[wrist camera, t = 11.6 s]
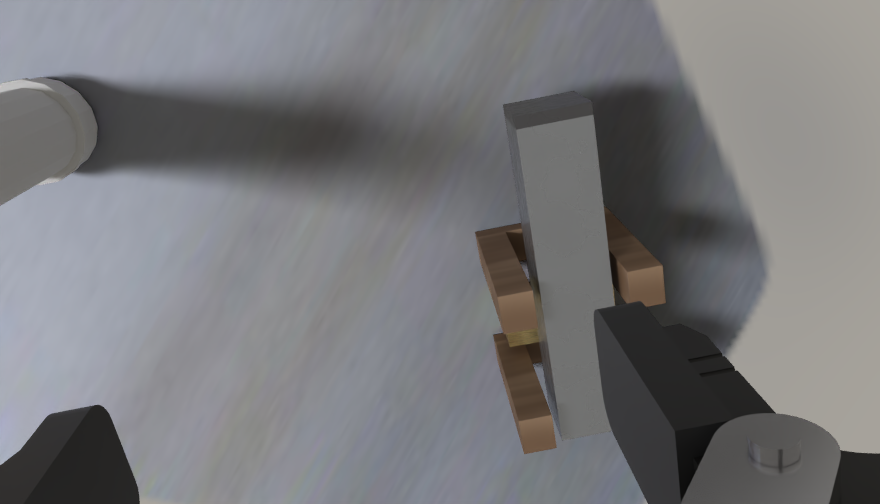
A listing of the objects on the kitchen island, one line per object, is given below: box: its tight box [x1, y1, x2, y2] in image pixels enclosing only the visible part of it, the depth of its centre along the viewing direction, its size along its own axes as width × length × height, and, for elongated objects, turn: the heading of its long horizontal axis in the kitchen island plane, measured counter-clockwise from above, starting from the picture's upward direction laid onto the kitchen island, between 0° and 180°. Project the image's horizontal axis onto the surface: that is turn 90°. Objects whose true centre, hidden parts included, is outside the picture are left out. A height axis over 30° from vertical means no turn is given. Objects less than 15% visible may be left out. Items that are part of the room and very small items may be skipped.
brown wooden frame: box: [475, 207, 666, 454], centre depth 42 cm, size 9×8×10 cm
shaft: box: [503, 91, 615, 441], centre depth 39 cm, size 18×4×4 cm, turn 11°
